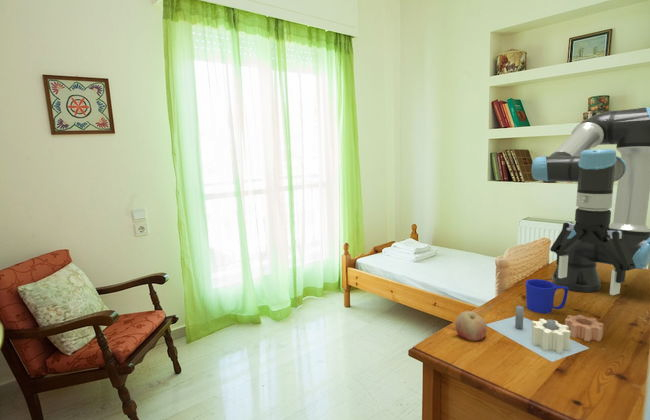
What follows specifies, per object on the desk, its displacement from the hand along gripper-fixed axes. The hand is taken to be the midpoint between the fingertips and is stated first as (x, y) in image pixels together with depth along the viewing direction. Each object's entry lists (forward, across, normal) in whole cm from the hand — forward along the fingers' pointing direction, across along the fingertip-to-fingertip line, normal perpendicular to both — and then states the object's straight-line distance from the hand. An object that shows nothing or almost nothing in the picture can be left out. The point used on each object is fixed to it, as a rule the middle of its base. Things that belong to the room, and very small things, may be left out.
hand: (586, 285), depth 97 cm
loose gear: (+16, 0, 0) cm, 16 cm away
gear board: (+16, -5, -13) cm, 21 cm away
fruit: (+16, -13, -28) cm, 35 cm away
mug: (+16, -15, +5) cm, 23 cm away
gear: (+14, 0, -13) cm, 19 cm away
